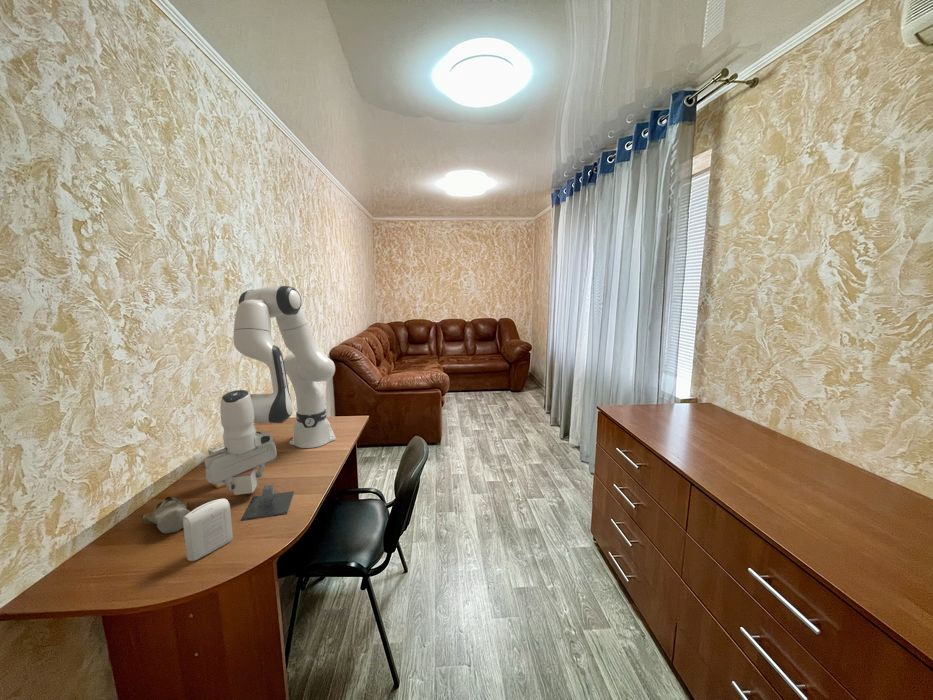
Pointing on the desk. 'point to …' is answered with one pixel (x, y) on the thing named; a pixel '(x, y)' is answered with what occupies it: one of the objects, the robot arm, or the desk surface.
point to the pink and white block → (245, 482)
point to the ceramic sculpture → (167, 515)
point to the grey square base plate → (268, 504)
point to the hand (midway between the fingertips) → (245, 483)
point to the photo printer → (207, 528)
